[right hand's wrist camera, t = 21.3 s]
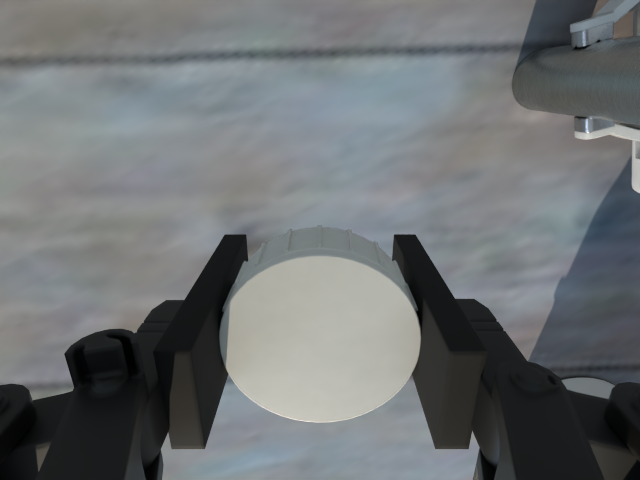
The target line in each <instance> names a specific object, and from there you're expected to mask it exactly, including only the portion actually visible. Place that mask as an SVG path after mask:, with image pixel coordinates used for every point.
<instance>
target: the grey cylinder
mask: <svg viewBox="0 0 640 480" xmlns="http://www.w3.org/2000/svg"><path fill="white" fill-rule="evenodd" d="M512 89H513V94H514V97H515V99H516V100H517V102H518V103H519V104H520V105H521V106H523V107H525V108H527V109H531V110H537V111H544V112H551V113H558V114H565V115H572V116H579V117H586V118H593V119H600V120H607V121H614V122H621V123H628V124H635V125H640V36H633V37H625V38H618V39H611V40H604V41H597V42H596V43H594V44H591V45H587V46H583V47H575V48H571V45H567V46H559V47H552V48H545V49H540V50H537V51H534V52H532V53H531V54H529V55H528V56H527V57H525V58H524V59H523V60H522V62H521V63H520V64H519V66H518V67H517V69H516V71H515V74H514V77H513V82H512Z"/></svg>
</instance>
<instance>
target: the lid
mask: <svg viewBox="0 0 640 480" xmlns="http://www.w3.org/2000/svg"><path fill="white" fill-rule="evenodd" d="M416 311H418V307H417V305H416V303H415V300H414V298H413V296H412V293H411V291H410V289H409V287H408V284H407V283H405V280H404V278H403V276H402V273H401V271H400V269H399V266H398V264H397V262H396V261H395V260H394V261H392V260H391V259H390V257H389V256H388V255H387V254H386V253H385V252H384V251H383V250H382V249H381V248H379V246H378V243H377V242H375V241H374V243H372V242H371V241H369V240H367V239H365V238H364V237H362V236H360V235H357V234H354V233H352V231H351V230H350V229H348V230H347V231H345V230H341V229H336V228H326V227H322V225H318V227H315V228H306V229H299V230H296V231H292V230H291V229H290V230H288V232H287V233H286V234H283V235H281V236H279V237H276V238H275V239H273V240H271V241H270V242H268V243H265V242H264V243H262V245H261V248H260V249H258V250H257V251H256V252H255V253H254V254H253V255H252V257H251V258H250V259H249V260H248V262H246V261H244V262H243V264H242V267H241V269H240V271H239V274H238V276H237V278H236V281H235V283H234V284H233V285H232V288H231V290H230V292H229V295H228V297H227V299H226V302H225V304H224V306H223V309H222V312H224V313H223V316H222V319H221V324H220V330H219V341H220V349H221V356H222V359H223V363H224V365H225V367H226V369H227V372H228V374H229V375H230V377H231V378H232V380H233V381H234V383H235V384H236V385H237V386H238V388H239V389H240V390H241V391H242V392H243V393H244V394H245V395H246V396H247V397H249V398H250V399H251V400H252V401H254V402H255V403H257V404H258V405H259V406H261V407H263V408H265V409H267V410H269V411H271V412H273V413H275V414H278V415H280V416H283V417H287V418H290V419H294V420H300V421H307V422H333V421H341V420H346V419H350V418H354V417H357V416H360V415H363V414H365V413H367V412H370V411H372V410H374V409H376V408H377V407H379V406H381V405H382V404H384V403H385V402H387V401H388V400H389V399H391V398H392V397H393V396H394V395H395V394H396V393H397V392H398V391H399V390H400V389H401V388H402V387H403V386H404V384H405V383H406V382H407V381H408V379H409V377H410V376H411V374H412V372H413V371H414V368H415V366H416V363H417V361H418V357H419V352H420V343H421V327H420V323H419V318H418V315H417V313H416Z"/></svg>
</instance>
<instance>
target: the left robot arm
mask: <svg viewBox="0 0 640 480" xmlns="http://www.w3.org/2000/svg"><path fill="white" fill-rule="evenodd" d="M629 11H633V36H640V0H609V1H608V2H607V3H606V4H605V5H604V6H603V7H602V8H601V9H600V10H599V11H598V12H597V13H596V14H595V17H592V18H589V19H586V20H583V21H579V22H576V23H573V24H571V25H570V35H571V48H575V47H583V46H587V45H591V44H594V43H596V42H597V41H604V40H608V39H611V38H613V24H615V23H616V22H617V21H618V20H619V19H620V18H621V17H622V16H624V15H625V14H626V13H627V12H629ZM574 130H575V138H579V139H584V140H586V139H594V138H598V137H602V136H605V135H612V136H616V137H619V138H624V139H630V140H632V188H633V189H634V190H635V191H636V192H638V193H640V125H635V124H628V123H621V122H620V125H618V124H614V121H607V120H600V119H593V118H586V117H579V116H575V117H574ZM561 381H562V382H563V384H564V385H565V386H566V389H568V390H571V391H575V392H579V393H583V394H588V395H592V396H597V397H601V398H606V399H609V396H610V393H611V390H612V388H613V387H615V385H613V384H611V383H609V382H606V381H604V380H600V379H595V378H584V377H581V378H570V379H564V380H561Z"/></svg>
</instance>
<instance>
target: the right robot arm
mask: <svg viewBox="0 0 640 480" xmlns="http://www.w3.org/2000/svg"><path fill="white" fill-rule="evenodd" d="M394 260H395V261H396V262H397V264H398V266H399V269H400V271H401V273H402V276H403V278H404V280H405V283H407V284H408V287H409V289H410V291H411V293H412V296H413V298H414V300H415V303H416V305H417V307H418V311H416V313H417V315H418V318H419V323H420V327H421V343H420V352H419V357H418V361H417V363H416V366H415V368H414V371H413V372H412V376H413V379H414V382H415V385H416V388H417V391H418V395H419V398H420V401H421V404H422V407H423V411H424V414H425V417H426V420H427V423H428V427H429V430H430V433H431V436H432V439H433V443H434V446H435V449H469V444H470V439H471V434H472V431H473V433H474V435H475V438H476V440H477V442H478V444H479V447H480V449H479V453H478V458H477V463H476V468H475V472H474V477H473V480H640V384H639V383H632V382H626V383H619V384H617V385H616V386H615V387H613V388H612V390H611V393H610V396H609V399H606V398H601V397H597V396H592V395H588V394H583V393H579V392H575V391H571V390H568V389H566V386H565V385H564V384H563V382H562V381H561V379H560V378H559V377H558V376H556V375H555V374H554V373H553V372H551V371H550V370H548V369H546V368H544V367H542V366H540V365H538V364H535V363H532V362H528V361H527V360H526V359H525V358H524V356H523V355H522V353H521V352H520V351H519V349H518V348H517V347H516V345H515V344H514V343H513V341H512V340H511V339H510V337H509V336H508V335H507V333H506V332H505V331H503V328H502V326H501V325H500V324H499V322H497V321H496V318H495V317H494V316H493V314H492V313H491V312H490V310H489V309H488V308H487V307H485V306H484V305H482V304H481V303H479V302H478V301H476V300H475V299H455V298H454V296H453V295H452V293H451V292H450V290H449V288H448V287H447V285H446V284H445V282H444V280H443V279H442V277H441V275H440V274H439V272H438V271H437V269H436V267H435V266H434V264H433V263H432V261H431V259H430V258H429V256H428V254H427V253H426V251H425V250H424V248H423V246H422V245H421V243H420V241H419V240H418V238H417V237H416V235H394V243H393V256H392V261H394ZM244 261H246V262H248V253H247V239H246V235H224V237H223V239H222V240H221V242H220V244H219V245H218V247H217V248H216V250H215V252H214V253H213V255H212V256H211V258H210V260H209V261H208V263H207V265H206V266H205V268H204V269H203V271H202V273H201V274H200V276H199V278H198V279H197V281H196V282H195V284H194V286H193V287H192V289H191V290H190V292H189V294H188V295H187V297H186V299H185V300H166V301H164V302H163V303H161V304H160V305H159V306H157V307H156V308H154V309H153V310H152V311H151V312H150V313H149V315H148V316H147V318H146V319H145V320H144V323H142V324H141V326H140V327H139V328H138V330H137V333H135V334H134V333H133V332H132V331H129V330H125V329H108V330H104V331H100V332H95V333H93V334H91V335H88V336H86V337H84V338H82V339H80V340H79V341H77V342H76V343H74V344H73V345H71V346H70V348H69V349H68V350H67V351H66V352H65V358H66V361H67V364H68V368H69V371H70V374H71V378H72V381H73V385H74V389H73V391H72V392H68V393H65V394H60V395H56V396H51V397H47V398H42V399H37V400H33V401H32V398H31V395H30V392H29V390H28V389H27V388H26V387H24V386H23V385H17V384H7V385H0V480H162V473H163V459H162V453H161V447H162V445H163V442H164V440H165V438H166V436H167V433H168V432H169V437H170V443H171V448H172V449H205V447H206V443H207V440H208V437H209V434H210V431H211V427H212V424H213V421H214V418H215V415H216V411H217V408H218V405H219V402H220V399H221V395H222V392H223V389H224V386H225V383H226V380H227V376H228V372H227V369H226V367H225V365H224V363H223V359H222V356H221V349H220V341H219V330H220V324H221V319H222V316H223V313H224V312H222V309H223V306H224V304H225V302H226V299H227V297H228V295H229V292H230V290H231V288H232V285H233V284H234V283H235V281H236V278H237V276H238V274H239V271H240V269H241V267H242V264H243V262H244Z"/></svg>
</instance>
